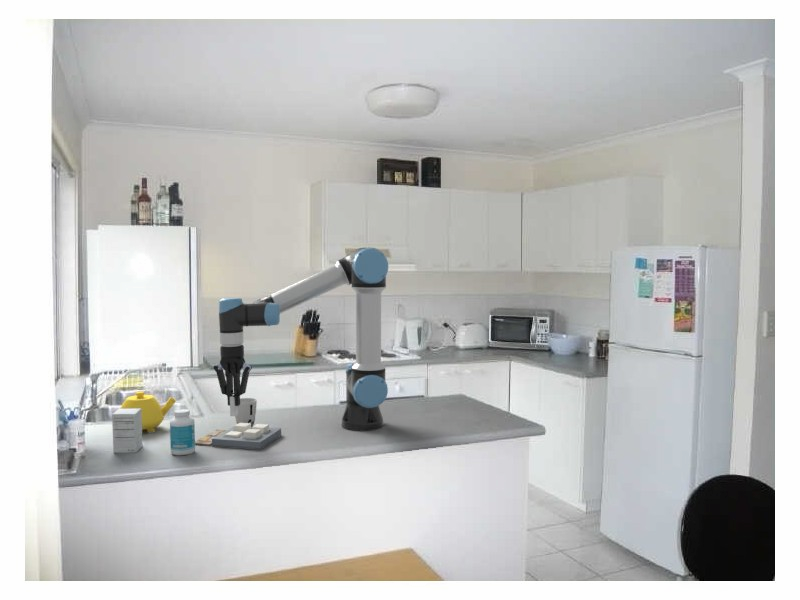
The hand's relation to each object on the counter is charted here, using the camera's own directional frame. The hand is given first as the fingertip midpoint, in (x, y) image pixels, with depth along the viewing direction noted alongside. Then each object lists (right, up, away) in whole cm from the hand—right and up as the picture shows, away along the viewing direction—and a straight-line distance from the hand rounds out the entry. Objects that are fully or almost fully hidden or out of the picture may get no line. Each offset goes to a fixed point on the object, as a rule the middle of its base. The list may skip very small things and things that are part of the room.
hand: (234, 415), depth 230 cm
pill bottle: (-14, -10, -10) cm, 20 cm away
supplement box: (-33, -10, -7) cm, 35 cm away
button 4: (+8, -7, +5) cm, 12 cm away
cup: (-1, -8, +20) cm, 21 cm away
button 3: (+6, -8, -1) cm, 10 cm away
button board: (+4, -9, +3) cm, 10 cm away
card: (-8, -9, +6) cm, 14 cm away
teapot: (-35, -8, +17) cm, 40 cm away
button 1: (0, -9, +1) cm, 9 cm away
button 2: (+1, -7, +7) cm, 10 cm away
